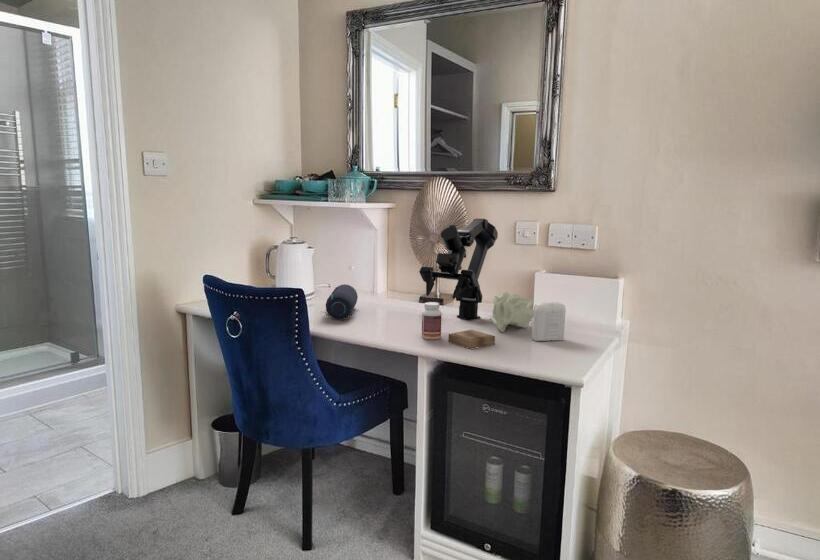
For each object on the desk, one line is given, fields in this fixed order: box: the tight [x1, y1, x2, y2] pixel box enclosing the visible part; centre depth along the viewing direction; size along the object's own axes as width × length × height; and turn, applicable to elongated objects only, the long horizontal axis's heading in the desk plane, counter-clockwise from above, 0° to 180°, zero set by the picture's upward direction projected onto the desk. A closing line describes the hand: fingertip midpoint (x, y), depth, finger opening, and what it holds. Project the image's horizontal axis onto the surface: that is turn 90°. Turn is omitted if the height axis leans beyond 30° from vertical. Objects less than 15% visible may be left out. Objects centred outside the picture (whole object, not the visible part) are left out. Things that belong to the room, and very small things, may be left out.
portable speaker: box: [325, 283, 359, 321], centre depth 209 cm, size 25×10×10 cm, turn 1°
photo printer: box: [531, 300, 566, 342], centre depth 178 cm, size 10×4×12 cm, turn 103°
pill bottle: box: [421, 301, 443, 341], centre depth 178 cm, size 6×6×11 cm
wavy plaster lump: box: [491, 291, 534, 333], centre depth 192 cm, size 18×13×16 cm
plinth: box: [447, 329, 496, 349], centre depth 173 cm, size 10×10×3 cm
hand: (440, 296), depth 182 cm, fingers open, 9 cm apart
